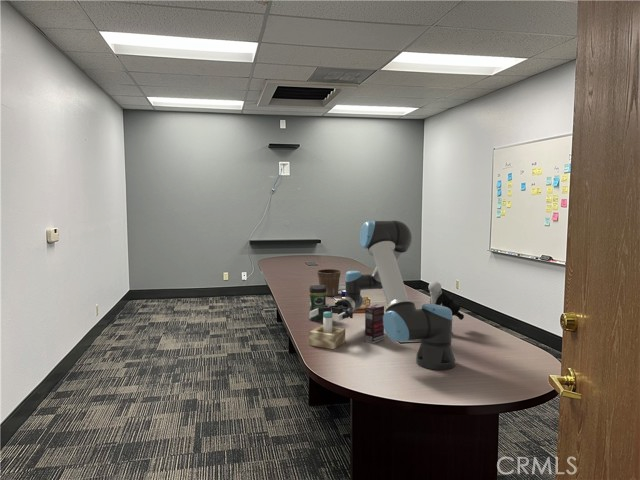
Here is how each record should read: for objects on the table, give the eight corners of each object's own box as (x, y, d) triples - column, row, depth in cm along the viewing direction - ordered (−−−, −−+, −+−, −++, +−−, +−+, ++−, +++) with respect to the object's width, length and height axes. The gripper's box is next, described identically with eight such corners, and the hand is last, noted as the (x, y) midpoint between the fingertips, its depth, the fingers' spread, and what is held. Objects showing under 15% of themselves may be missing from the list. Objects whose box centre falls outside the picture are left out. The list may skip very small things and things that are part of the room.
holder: (345, 341, 211) (345, 328, 211) (333, 349, 201) (333, 335, 200) (321, 337, 217) (321, 325, 216) (309, 344, 206) (309, 331, 206)
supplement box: (376, 337, 218) (376, 304, 217) (384, 339, 215) (385, 305, 213) (364, 341, 212) (364, 307, 211) (372, 343, 209) (373, 308, 207)
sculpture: (413, 329, 232) (414, 279, 230) (453, 325, 240) (454, 277, 238) (430, 338, 218) (431, 285, 215) (472, 333, 226) (474, 282, 223)
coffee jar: (325, 317, 254) (325, 283, 252) (327, 320, 246) (328, 286, 245) (308, 317, 253) (308, 283, 251) (309, 321, 245) (309, 286, 243)
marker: (333, 342, 210) (333, 312, 209) (329, 345, 206) (329, 314, 205) (325, 341, 212) (325, 311, 210) (321, 343, 208) (321, 313, 207)
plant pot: (328, 298, 301) (328, 273, 299) (311, 294, 313) (311, 270, 311) (346, 295, 312) (346, 271, 310) (329, 291, 324) (329, 268, 322)
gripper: (368, 317, 218) (350, 328, 199) (321, 311, 230) (299, 321, 211) (368, 301, 217) (350, 311, 199) (321, 296, 229) (299, 304, 210)
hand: (324, 316), depth 205 cm, fingers open, 13 cm apart
